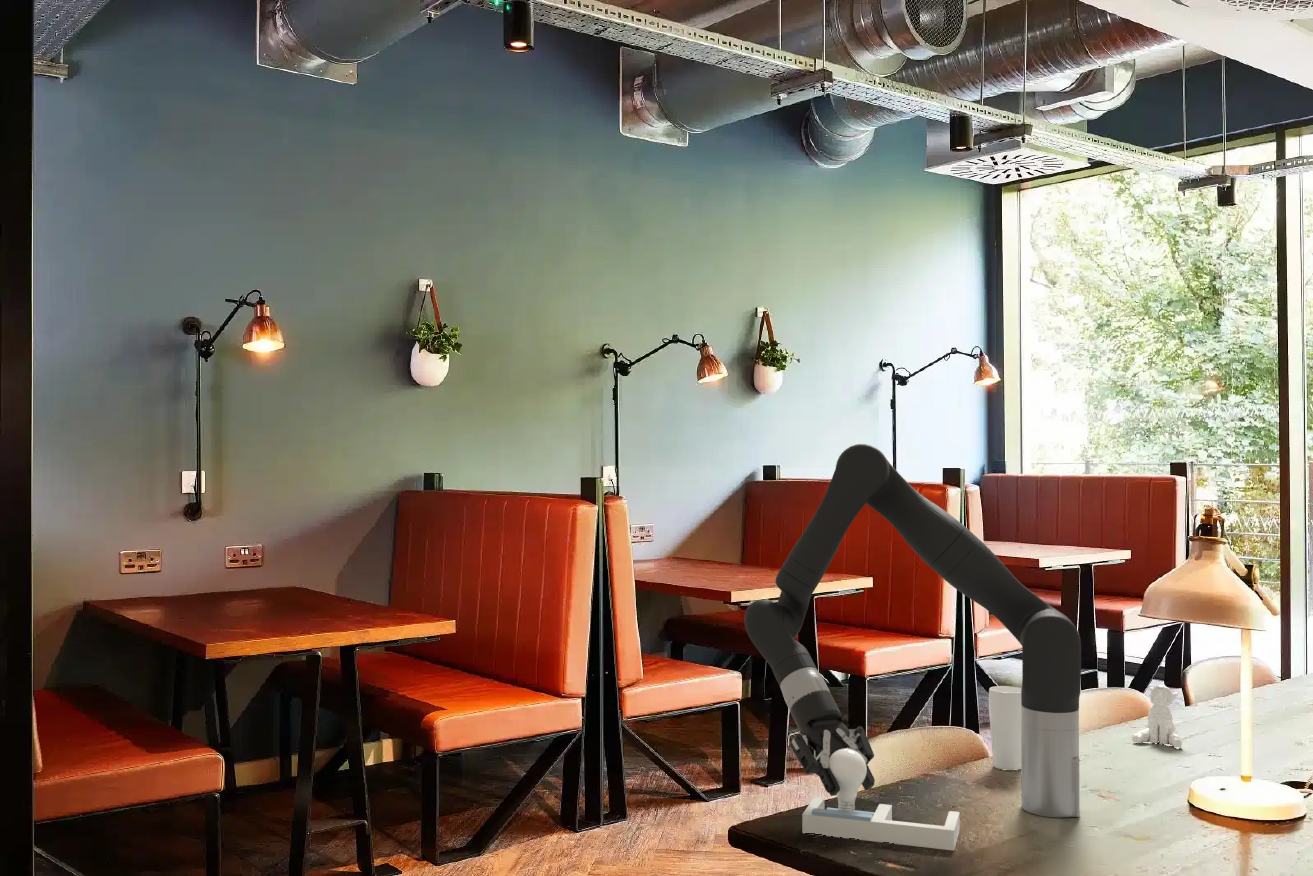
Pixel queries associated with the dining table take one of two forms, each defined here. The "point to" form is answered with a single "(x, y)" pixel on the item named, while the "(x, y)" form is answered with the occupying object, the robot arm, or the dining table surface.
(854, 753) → the lightbulb
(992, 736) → the drinking glass
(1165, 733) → the white creature statuette
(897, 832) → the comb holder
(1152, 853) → the dining table surface
